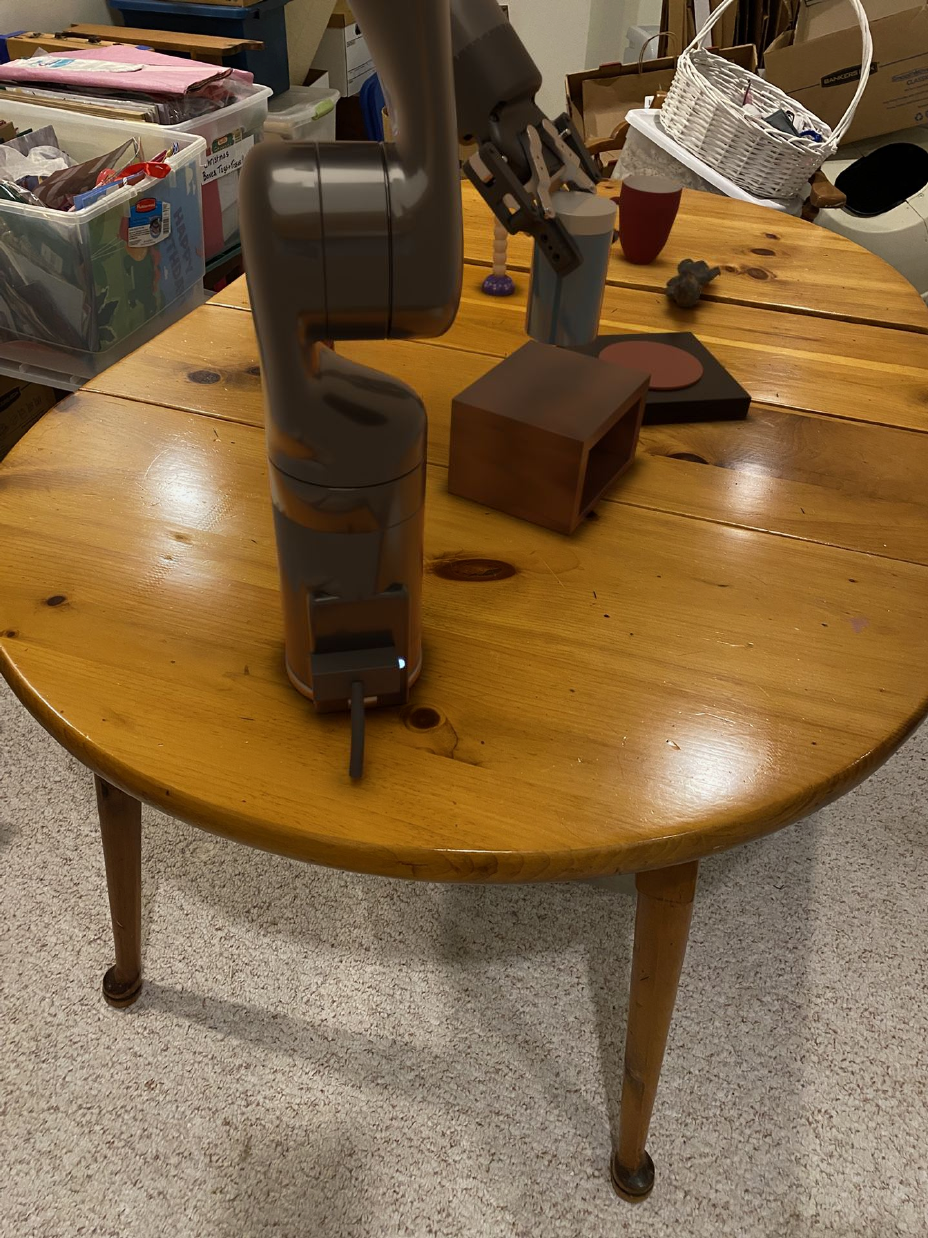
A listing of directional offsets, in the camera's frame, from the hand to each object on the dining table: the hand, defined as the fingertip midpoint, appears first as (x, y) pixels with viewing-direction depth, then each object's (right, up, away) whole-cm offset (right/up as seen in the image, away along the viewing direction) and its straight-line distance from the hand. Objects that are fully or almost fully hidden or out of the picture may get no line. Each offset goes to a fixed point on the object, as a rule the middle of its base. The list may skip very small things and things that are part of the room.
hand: (591, 257), depth 71 cm
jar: (-2, -4, +5) cm, 7 cm away
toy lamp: (-6, +14, +47) cm, 50 cm away
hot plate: (+10, -3, +29) cm, 30 cm away
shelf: (-2, -15, +14) cm, 20 cm away
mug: (+14, +23, +59) cm, 65 cm away
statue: (+19, +13, +47) cm, 53 cm away
